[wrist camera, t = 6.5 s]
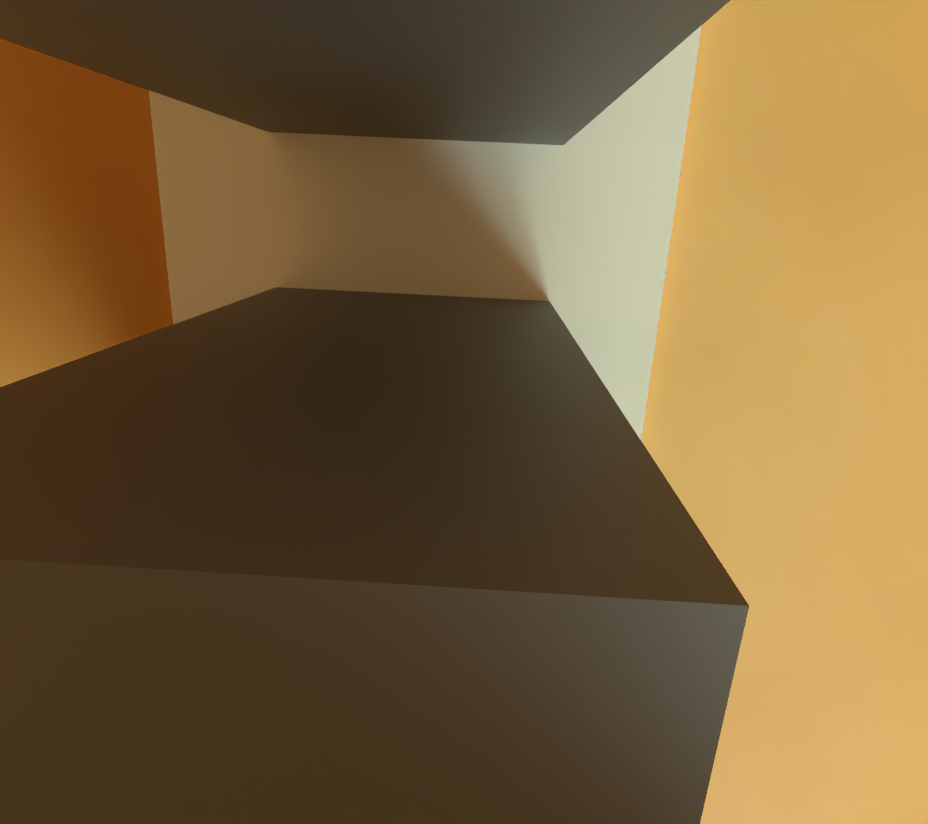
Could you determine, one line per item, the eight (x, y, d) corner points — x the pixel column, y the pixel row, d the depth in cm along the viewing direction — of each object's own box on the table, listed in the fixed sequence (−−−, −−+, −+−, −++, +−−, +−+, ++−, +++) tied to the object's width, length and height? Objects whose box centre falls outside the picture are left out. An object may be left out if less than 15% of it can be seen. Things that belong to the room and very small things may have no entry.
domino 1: (541, 395, 12) (680, 903, 3) (281, 381, 12) (-268, 836, 3) (549, 301, 11) (751, 605, 3) (276, 286, 11) (-402, 534, 3)
